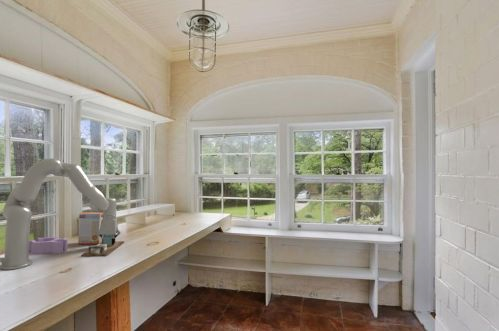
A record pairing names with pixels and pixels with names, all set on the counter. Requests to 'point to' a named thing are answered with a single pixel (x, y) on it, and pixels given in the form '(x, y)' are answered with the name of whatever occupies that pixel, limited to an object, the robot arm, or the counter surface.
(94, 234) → the cracker box
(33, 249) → the purple piece
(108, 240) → the stub
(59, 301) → the counter surface
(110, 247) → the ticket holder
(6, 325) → the counter surface
